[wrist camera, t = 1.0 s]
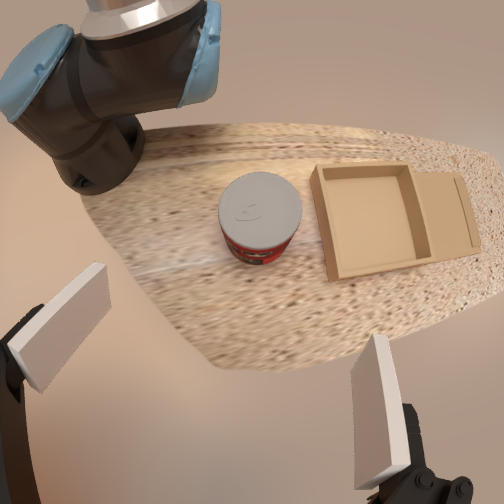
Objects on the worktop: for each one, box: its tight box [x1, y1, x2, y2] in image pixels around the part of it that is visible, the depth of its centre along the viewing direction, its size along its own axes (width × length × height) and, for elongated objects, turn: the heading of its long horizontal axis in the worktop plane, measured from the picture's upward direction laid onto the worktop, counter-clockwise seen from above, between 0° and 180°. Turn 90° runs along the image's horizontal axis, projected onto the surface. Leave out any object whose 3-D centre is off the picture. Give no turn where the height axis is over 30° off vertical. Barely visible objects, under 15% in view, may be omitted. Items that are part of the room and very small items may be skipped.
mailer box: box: [310, 161, 481, 282], centre depth 36 cm, size 28×14×4 cm, turn 98°
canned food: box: [218, 172, 302, 265], centre depth 32 cm, size 8×8×11 cm
